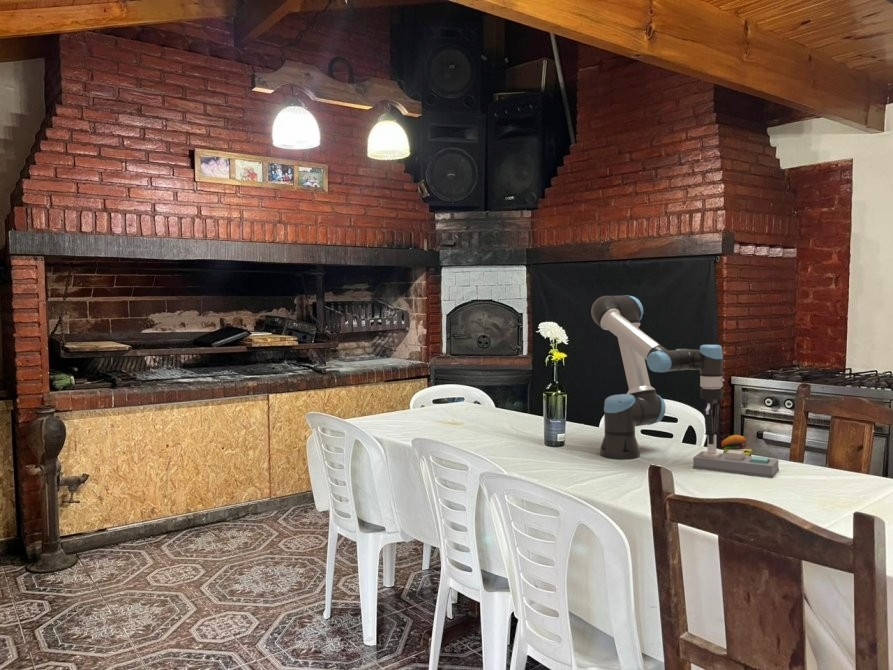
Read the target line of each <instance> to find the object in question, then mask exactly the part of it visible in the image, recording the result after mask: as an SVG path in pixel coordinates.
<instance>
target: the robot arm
mask: <svg viewBox="0 0 893 670" xmlns="http://www.w3.org/2000/svg"><path fill="white" fill-rule="evenodd" d="M590 313H591V317H592V318H591V319H593V321H594V323H596V324H597V325H598V327H600V329H602V330H605V331H609V332H610V333H611V334H613V335H614V336H615V337H617V341H618V346H619V349H620V354H621V359H622V363H623V368H624V372H625V373H624V374H625V377H626V383H627V386H628V391H627V393H621V394H614V395H609V396H608V397H606V398H605V399H604V406H603V413H604V414H603V415H604V417H603V418H604V419H603V420H604V437H603V439H602V443H601V446H600V447H599V450H600V451H599V452H600V453H599V454H600V455H601V456H602V457H605V458H608V459H616V460H618V459H619V460H627V459H629V460H630V459H636V458H640V455H641V450H640V447H639V446H640V445H639V443H638V440H637V438H636V437H637V436H636V427H641V426H650V425H654V424H658V423H659V422H661V420H663V418H664V416H665V414H666V402H665V401H664V399H663V397H661V395H659V394H657V391H656V388H654V387H653V386H651V382H650V378H649V373H648V369H649V370H650V371H652V372H654V373H667V372H676V371H685V370H686V371H687V370H692V371H699V374H700V375H699V376H700V377H699V379H700V380H699V381H700V383H699V386H700V387H701V388H700V391H699V392H700V394H699V395H700V398H701V399H703V400H705V403H704V408H703V414H704V427H705V433H704V435H705V436H706V435H707V436H706V437H707V439H706V440H707V444H706V445H707V451H708V453H716V452H717V435H720V434H719V432H718V431H719V415H720V414H719V412H720V407H721V406H720V404H719V403H718V400H722V399H723V398H724V395H723V394H724V390H723V386H724V384H723V382H725V379H724V378H723V364H724V363H723V362H724V356H723V347H722V346H721V345H720V344H702V345H700V346H699V349H689V348H677V349H675V350H668V349H666V348H665V347H664V346H662V345H661V344H659V342H657V341H656V340H654V339H653V338H652V337H650V336H649V335H647V334H646V333H645V332H644V331H642V329H640V326H641V320H642V318H643V315H644V307H643V304H642V302H641V301H640V299H639V298H638V297H636V296H632V295H603V296H600V297H598V298H597V299H595V301H594V302H593V304H592V305H591V312H590ZM646 363H647V364H646ZM647 368H648V369H647Z"/></svg>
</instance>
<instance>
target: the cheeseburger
mask: <svg viewBox="0 0 893 670" xmlns="http://www.w3.org/2000/svg"><path fill="white" fill-rule="evenodd" d="M747 442H748V440H747V438H746V437H745V436H743V435H740V434H732V435H730V436H727V437H726V438H724V439H723V440H722V441H721V443H720V444H721V447H722V449H723V452H722V453H724V454H726V452H727V451H729V450H736V451H744V456H752V454H753V450H752V448H751V447H749V446H748V443H747ZM746 443H747V444H746Z"/></svg>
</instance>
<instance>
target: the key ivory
mask: <svg viewBox="0 0 893 670" xmlns="http://www.w3.org/2000/svg"><path fill="white" fill-rule="evenodd" d="M721 453H722V452H719V451H716V453H708V450H707V451H706V450H705V452H704V453H703V457H711V458H719V457H720V456H721Z"/></svg>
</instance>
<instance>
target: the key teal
mask: <svg viewBox="0 0 893 670" xmlns="http://www.w3.org/2000/svg"><path fill="white" fill-rule="evenodd" d="M769 458H770V457H765V456H755V455H754V456H752V458H751V462H757V463H766V464H768V463H769Z"/></svg>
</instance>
